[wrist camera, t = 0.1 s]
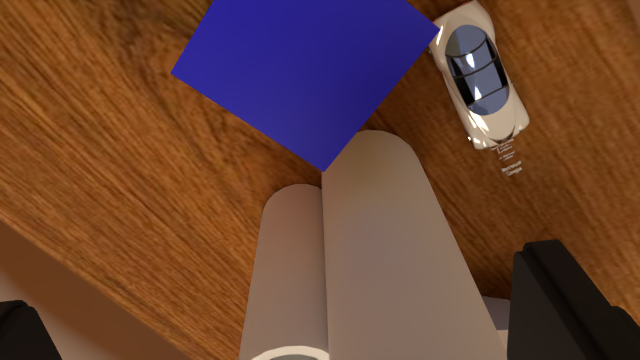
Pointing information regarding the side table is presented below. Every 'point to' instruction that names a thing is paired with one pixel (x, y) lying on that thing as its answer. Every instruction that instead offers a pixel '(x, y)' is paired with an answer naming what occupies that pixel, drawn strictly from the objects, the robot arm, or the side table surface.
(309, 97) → the cube
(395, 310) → the vase
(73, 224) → the side table surface
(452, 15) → the toy car
